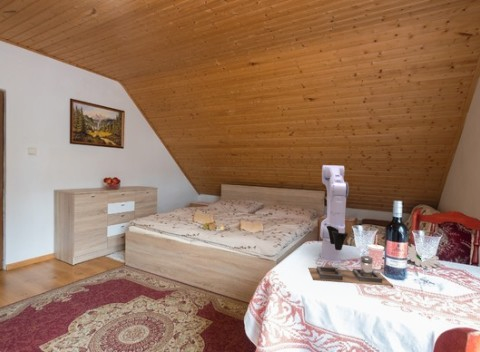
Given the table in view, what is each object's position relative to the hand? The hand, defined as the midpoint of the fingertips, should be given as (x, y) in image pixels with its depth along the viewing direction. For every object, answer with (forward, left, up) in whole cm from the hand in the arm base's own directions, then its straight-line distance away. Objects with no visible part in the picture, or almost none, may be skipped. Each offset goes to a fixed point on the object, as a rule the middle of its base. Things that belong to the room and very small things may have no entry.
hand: (335, 246), depth 109 cm
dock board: (+4, +4, -10) cm, 12 cm away
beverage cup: (-9, +19, -11) cm, 24 cm away
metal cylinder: (+4, +11, -10) cm, 15 cm away
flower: (-20, +34, -11) cm, 41 cm away
